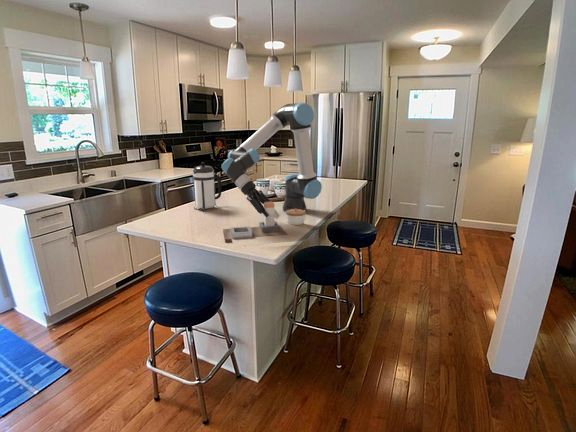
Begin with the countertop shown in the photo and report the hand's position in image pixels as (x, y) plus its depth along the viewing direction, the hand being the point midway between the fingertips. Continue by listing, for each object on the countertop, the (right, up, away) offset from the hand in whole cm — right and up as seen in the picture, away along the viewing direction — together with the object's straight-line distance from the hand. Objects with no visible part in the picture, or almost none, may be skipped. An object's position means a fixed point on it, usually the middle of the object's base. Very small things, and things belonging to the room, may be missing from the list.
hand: (275, 219), depth 168 cm
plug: (-3, -3, +2) cm, 5 cm away
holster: (-3, -5, +3) cm, 7 cm away
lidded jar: (+10, -4, +14) cm, 18 cm away
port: (-16, -7, -6) cm, 19 cm away
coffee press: (-46, +6, +49) cm, 68 cm away
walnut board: (-10, -8, -2) cm, 13 cm away
